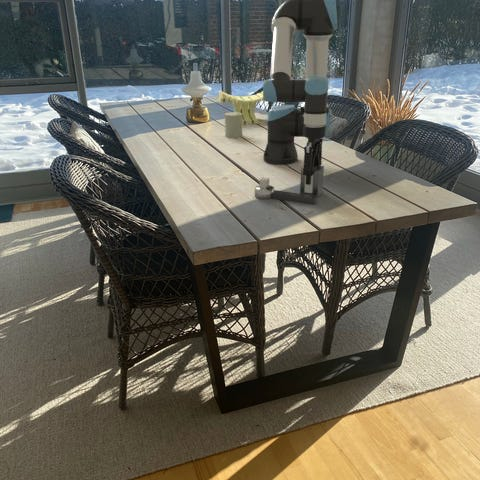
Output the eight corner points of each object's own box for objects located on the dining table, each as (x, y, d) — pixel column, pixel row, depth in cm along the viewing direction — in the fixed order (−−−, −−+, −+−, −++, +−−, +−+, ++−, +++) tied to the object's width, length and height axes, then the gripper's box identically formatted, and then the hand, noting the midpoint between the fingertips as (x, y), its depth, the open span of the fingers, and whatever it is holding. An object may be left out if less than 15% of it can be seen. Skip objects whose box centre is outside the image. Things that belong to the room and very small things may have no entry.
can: (241, 138, 254) (240, 114, 249) (223, 137, 256) (222, 114, 250) (243, 133, 262) (243, 111, 257) (226, 133, 264) (226, 111, 259)
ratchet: (259, 191, 180) (259, 174, 177) (318, 200, 171) (319, 182, 169) (251, 197, 175) (251, 180, 172) (312, 206, 166) (313, 188, 163)
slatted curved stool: (268, 117, 301) (268, 87, 293) (274, 122, 287) (274, 91, 279) (219, 119, 297) (218, 89, 289) (223, 125, 282) (222, 93, 275)
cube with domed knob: (305, 190, 181) (306, 163, 176) (322, 192, 178) (324, 165, 174) (299, 196, 175) (301, 168, 171) (317, 198, 173) (318, 170, 168)
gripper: (312, 118, 175) (309, 180, 185) (294, 130, 159) (292, 196, 169) (333, 120, 172) (329, 182, 182) (316, 132, 157) (313, 199, 166)
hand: (311, 189), depth 176 cm, fingers closed on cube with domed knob, 6 cm apart
